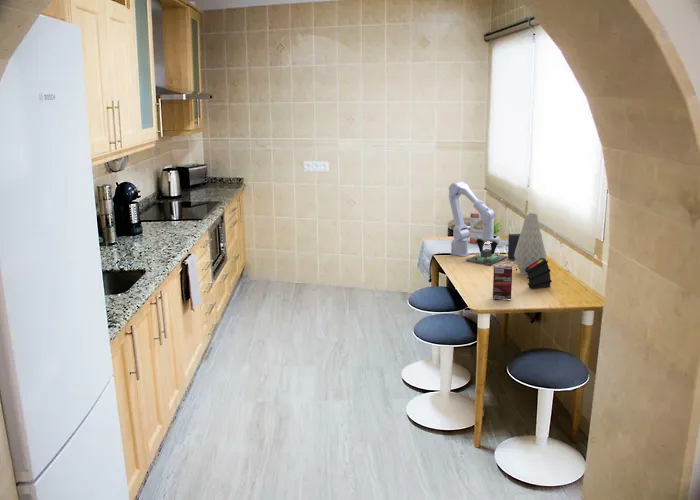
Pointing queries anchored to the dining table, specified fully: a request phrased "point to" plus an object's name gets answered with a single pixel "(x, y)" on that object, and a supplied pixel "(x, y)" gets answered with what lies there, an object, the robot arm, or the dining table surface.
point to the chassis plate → (486, 262)
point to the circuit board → (486, 255)
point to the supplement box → (502, 282)
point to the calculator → (512, 245)
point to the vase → (529, 243)
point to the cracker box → (476, 226)
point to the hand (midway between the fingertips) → (486, 253)
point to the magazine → (538, 274)
